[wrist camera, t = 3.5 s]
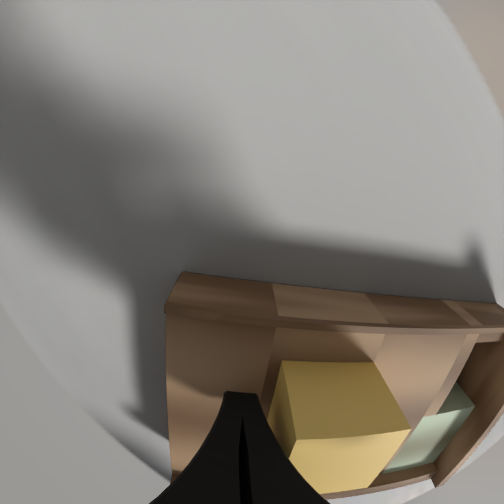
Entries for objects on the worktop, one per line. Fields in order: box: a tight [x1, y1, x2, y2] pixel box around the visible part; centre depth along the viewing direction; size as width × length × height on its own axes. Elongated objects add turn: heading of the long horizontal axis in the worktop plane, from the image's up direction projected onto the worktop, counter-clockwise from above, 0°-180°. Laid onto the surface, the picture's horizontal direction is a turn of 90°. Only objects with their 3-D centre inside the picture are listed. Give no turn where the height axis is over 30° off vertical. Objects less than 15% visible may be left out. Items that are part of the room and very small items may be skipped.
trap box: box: [164, 272, 504, 500], centre depth 13 cm, size 13×19×5 cm
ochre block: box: [267, 360, 411, 494], centre depth 10 cm, size 4×4×4 cm
